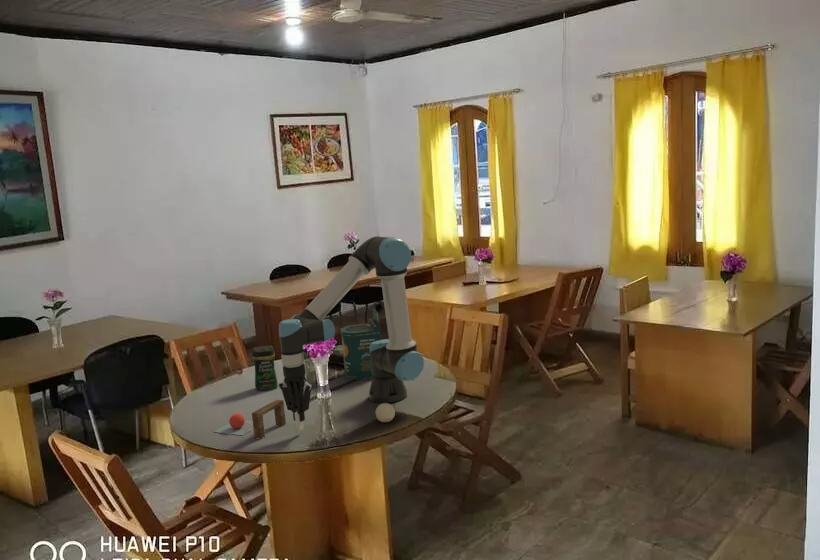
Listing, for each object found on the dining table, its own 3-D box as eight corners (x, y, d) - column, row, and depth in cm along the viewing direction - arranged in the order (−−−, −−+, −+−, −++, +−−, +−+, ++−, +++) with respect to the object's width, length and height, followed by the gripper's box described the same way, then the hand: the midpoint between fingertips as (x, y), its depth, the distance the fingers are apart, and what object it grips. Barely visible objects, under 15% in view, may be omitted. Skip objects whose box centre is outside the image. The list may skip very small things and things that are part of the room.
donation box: (384, 376, 307) (378, 314, 302) (347, 381, 304) (341, 318, 299) (377, 366, 322) (372, 307, 318) (343, 371, 319) (337, 311, 315)
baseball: (384, 426, 246) (382, 408, 245) (373, 421, 252) (371, 404, 251) (399, 421, 250) (398, 403, 249) (388, 416, 256) (386, 399, 255)
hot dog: (319, 364, 334) (317, 348, 333) (336, 358, 342) (334, 343, 341) (345, 369, 322) (344, 353, 321) (362, 363, 330) (361, 347, 329)
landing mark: (264, 422, 260) (264, 422, 259) (242, 435, 248) (242, 435, 248) (236, 419, 265) (236, 419, 265) (213, 432, 254) (213, 431, 254)
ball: (234, 421, 259) (245, 428, 258) (224, 426, 254) (236, 433, 253) (237, 409, 258) (249, 415, 256) (228, 413, 253) (240, 420, 251)
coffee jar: (255, 392, 297) (250, 350, 294) (255, 387, 305) (251, 345, 302) (278, 389, 299) (274, 347, 296) (278, 384, 307) (273, 343, 304)
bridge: (285, 424, 256) (283, 400, 255) (261, 439, 243) (258, 413, 242) (279, 423, 258) (276, 399, 256) (254, 438, 245) (251, 413, 243)
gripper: (315, 362, 241) (321, 427, 245) (284, 360, 247) (291, 424, 251) (303, 368, 235) (309, 435, 238) (271, 366, 240) (278, 431, 244)
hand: (300, 429), depth 245 cm, fingers closed
